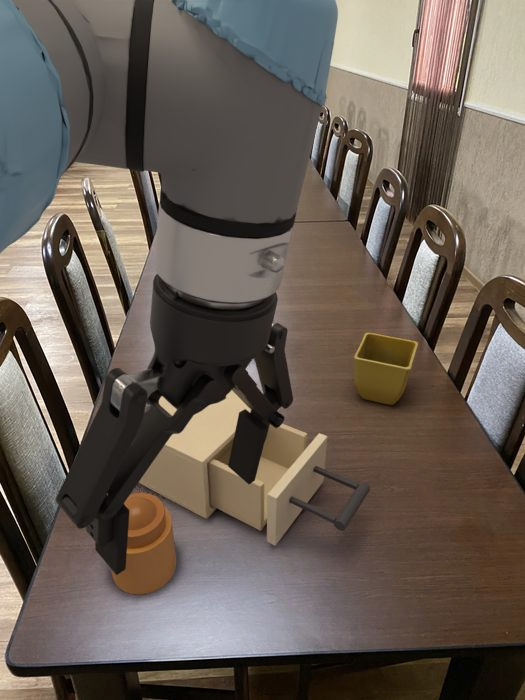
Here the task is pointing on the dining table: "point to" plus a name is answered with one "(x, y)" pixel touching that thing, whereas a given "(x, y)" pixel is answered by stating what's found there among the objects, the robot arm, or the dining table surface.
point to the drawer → (279, 483)
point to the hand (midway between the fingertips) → (182, 512)
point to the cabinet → (193, 454)
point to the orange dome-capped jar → (147, 546)
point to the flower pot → (383, 367)
